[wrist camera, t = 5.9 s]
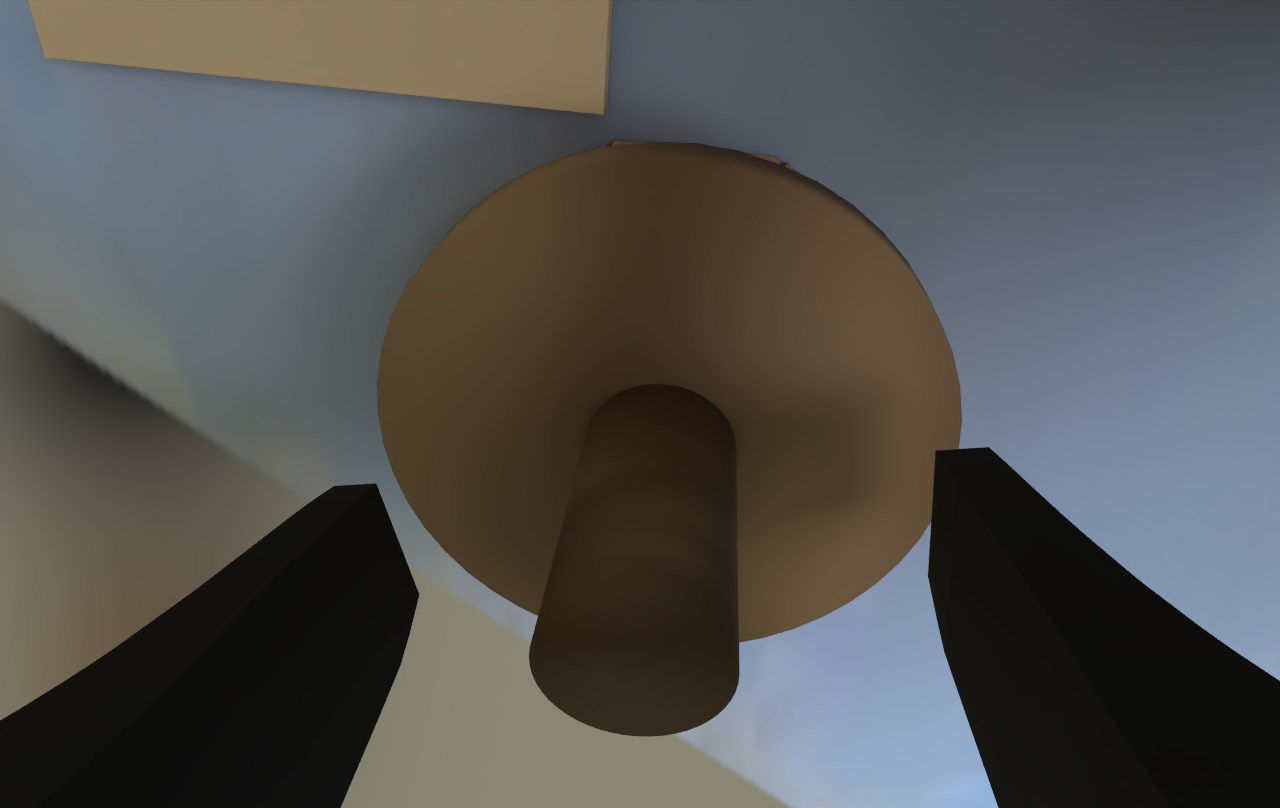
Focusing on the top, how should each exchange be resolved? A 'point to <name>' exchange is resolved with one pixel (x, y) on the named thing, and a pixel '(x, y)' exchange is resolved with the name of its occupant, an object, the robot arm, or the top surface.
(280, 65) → the mat
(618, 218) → the lid
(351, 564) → the robot arm
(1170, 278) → the top surface
